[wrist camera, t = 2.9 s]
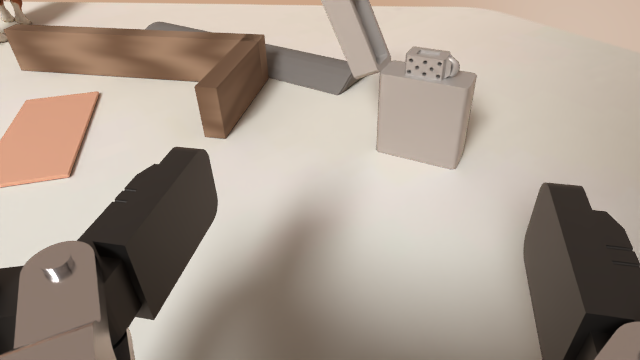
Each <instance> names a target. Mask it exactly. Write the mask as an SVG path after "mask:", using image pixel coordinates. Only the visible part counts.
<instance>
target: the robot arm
mask: <svg viewBox="0 0 640 360" xmlns="http://www.w3.org/2000/svg"><path fill="white" fill-rule="evenodd" d="M217 205H218V199H217V193H216V188H215V183H214V179H213V174H212V169H211V164H210V159H209V156H208V153H207V152H206V151H205V150H204V149H194V148H183V147H174V148H173V149H172V150H171V151H170V152H169V153H168V154H167V155H166V157H165V158H164V159H163V160H162V161H161V162H160V164H154V165H152V166H150V167H149V168H147V169H145V170H144V171H142V172H141V173H139V174H137V175H136V176H135V177H134V178H133V179H132V181H131V182H130V183H129V184H128V185H127V186H126V187H125V190H124V191H122V192H121V193H120V194H119V195H118V196H117V197H116V198H115V202H112V203H111V204H110V205H109V206H108V207H107V208H106V209H105V210H104V212H103V213H102V214H101V215H100V216H99V217H98V218H97V219H96V220H95V221H94V223H93V224H92V225H91V226H90V227H89V228H88V229H87V230H86V231H85V233H84V234H83V235H82V236H81V237H80V238H79V239H78V240H77V241H66V242H61V243H57V244H54V245H51V246H49V247H47V248H45V249H43V250H41V251H40V252H38V253H37V254H35V255H34V256H33V257H32V258H30V259H29V260H28V261H27V263H26V264H25V265H24V266H18V267H9V268H1V269H0V360H135V356H134V350H133V343H132V337H131V333H130V330H129V328H128V327H129V325H130V324H131V322H132V321H133V319H134V318H135V317H139V318H145V319H151V320H154V319H155V317H156V316H157V314H158V312H159V311H160V309H161V307H162V306H163V304H164V302H165V301H166V299H167V297H168V296H169V294H170V292H171V291H172V289H173V287H174V286H175V284H176V282H177V281H178V279H179V277H180V276H181V274H182V272H183V271H184V269H185V267H186V266H187V264H188V262H189V261H190V259H191V257H192V256H193V254H194V252H195V251H196V249H197V247H198V246H199V244H200V242H201V241H202V239H203V237H204V236H205V234H206V232H207V231H208V229H209V227H210V226H211V224H212V222H213V220H214V218H215V216H216V212H217ZM632 250H633V247H632V245H631V243H630V241H629V238H628V236H627V234H626V232H625V230H624V228H623V227H622V226H621V225H620V224H619V223H617V222H616V221H615V220H614V219H613V218H612V217H611V216H610V215H609V214H608V213H607V212H605V211H595V210H592V208H591V206H590V203H589V201H588V198H587V196H586V193H585V191H584V189H583V187H582V186H575V185H565V184H554V183H543V184H542V186H541V188H540V190H539V193H538V196H537V200H536V203H535V206H534V209H533V212H532V215H531V219H530V222H529V225H528V228H527V231H526V235H525V240H524V263H525V268H526V273H527V279H528V284H529V290H530V295H531V300H532V306H533V311H534V316H535V322H536V327H537V333H538V338H539V343H540V349H541V354H542V360H640V263H639V260H638V258H637V256H636V254H635V252H633V251H632Z"/></svg>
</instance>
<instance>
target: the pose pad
mask: <svg viewBox="0 0 640 360" xmlns="http://www.w3.org/2000/svg"><path fill="white" fill-rule="evenodd" d="M98 96H99V92H90V93H81V94H73V95H65V96H56V97H48V98H40V99H32V100H26V101H25V103H24V104H23V106H22V108H21V109H20V111H19V112H18V114H17V115H16V117H15V118H14V120H13V122H12V123H11V125H10V126H9V128H8V129H7V131H6V133H5V134H4V136H3V137H2V139H1V140H0V187H5V186H12V185H19V184H25V183H32V182H39V181H46V180H53V179H59V178H66V177H69V176H70V173H71V171H72V168H73V165H74V162H75V160H76V157H77V154H78V151H79V149H80V146H81V143H82V140H83V138H84V135H85V132H86V129H87V127H88V124H89V121H90V118H91V116H92V113H93V110H94V107H95V105H96V102H97V99H98Z"/></svg>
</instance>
